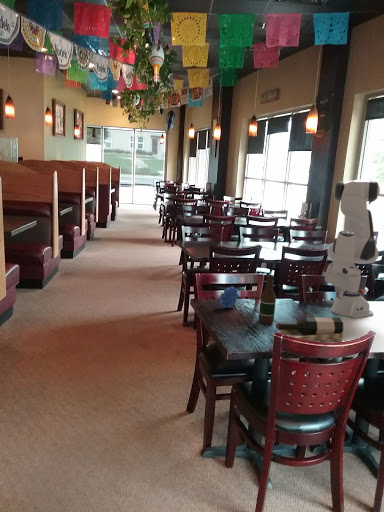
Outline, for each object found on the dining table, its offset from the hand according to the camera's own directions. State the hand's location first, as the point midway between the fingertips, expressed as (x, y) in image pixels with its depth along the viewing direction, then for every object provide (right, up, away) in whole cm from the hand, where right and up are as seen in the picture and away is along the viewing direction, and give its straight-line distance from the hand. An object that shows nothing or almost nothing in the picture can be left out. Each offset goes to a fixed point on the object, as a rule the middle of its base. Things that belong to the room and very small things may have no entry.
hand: (339, 296), depth 193 cm
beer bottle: (-30, -15, +18) cm, 38 cm away
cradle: (-13, -19, 0) cm, 23 cm away
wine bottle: (+1, -14, +2) cm, 14 cm away
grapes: (-48, -10, +37) cm, 61 cm away
